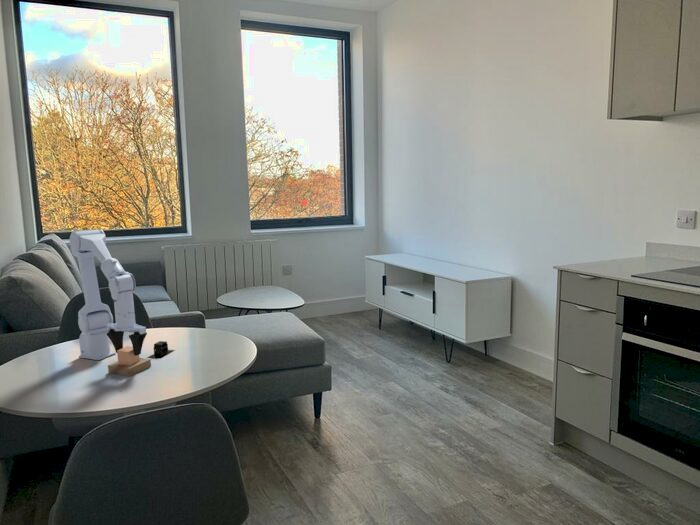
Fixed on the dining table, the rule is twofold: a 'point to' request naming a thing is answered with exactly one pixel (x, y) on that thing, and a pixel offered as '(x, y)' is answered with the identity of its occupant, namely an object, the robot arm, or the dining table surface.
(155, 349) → the black slotted bracket
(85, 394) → the dining table surface
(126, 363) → the terracotta cube
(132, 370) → the walnut slab
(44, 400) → the dining table surface
